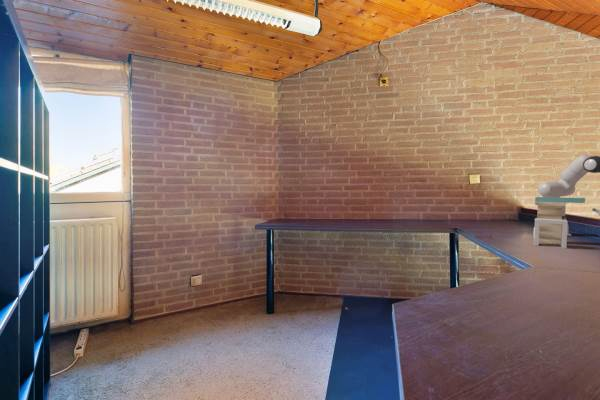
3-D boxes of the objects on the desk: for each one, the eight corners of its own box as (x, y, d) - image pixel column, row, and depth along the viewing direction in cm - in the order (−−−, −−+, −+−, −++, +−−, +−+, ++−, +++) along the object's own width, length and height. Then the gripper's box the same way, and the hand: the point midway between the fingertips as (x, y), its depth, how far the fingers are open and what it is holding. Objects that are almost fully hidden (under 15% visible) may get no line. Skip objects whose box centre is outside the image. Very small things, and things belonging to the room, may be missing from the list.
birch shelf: (533, 240, 208) (534, 201, 206) (562, 242, 199) (564, 202, 197) (533, 241, 201) (535, 202, 200) (564, 244, 192) (565, 202, 191)
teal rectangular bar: (535, 201, 204) (535, 197, 204) (584, 202, 190) (584, 197, 190) (535, 201, 202) (535, 197, 201) (584, 203, 188) (585, 198, 187)
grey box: (534, 243, 197) (535, 218, 196) (564, 245, 188) (566, 219, 187) (534, 245, 191) (535, 219, 190) (566, 248, 182) (567, 221, 181)
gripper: (621, 216, 187) (594, 204, 194) (630, 220, 171) (601, 206, 177) (613, 224, 189) (587, 212, 196) (622, 229, 173) (593, 215, 179)
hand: (594, 209), depth 186 cm, fingers open, 8 cm apart
